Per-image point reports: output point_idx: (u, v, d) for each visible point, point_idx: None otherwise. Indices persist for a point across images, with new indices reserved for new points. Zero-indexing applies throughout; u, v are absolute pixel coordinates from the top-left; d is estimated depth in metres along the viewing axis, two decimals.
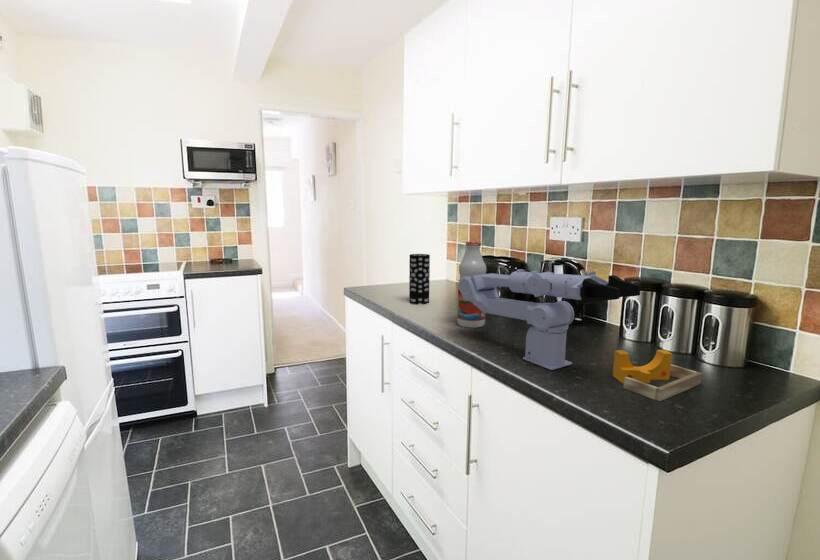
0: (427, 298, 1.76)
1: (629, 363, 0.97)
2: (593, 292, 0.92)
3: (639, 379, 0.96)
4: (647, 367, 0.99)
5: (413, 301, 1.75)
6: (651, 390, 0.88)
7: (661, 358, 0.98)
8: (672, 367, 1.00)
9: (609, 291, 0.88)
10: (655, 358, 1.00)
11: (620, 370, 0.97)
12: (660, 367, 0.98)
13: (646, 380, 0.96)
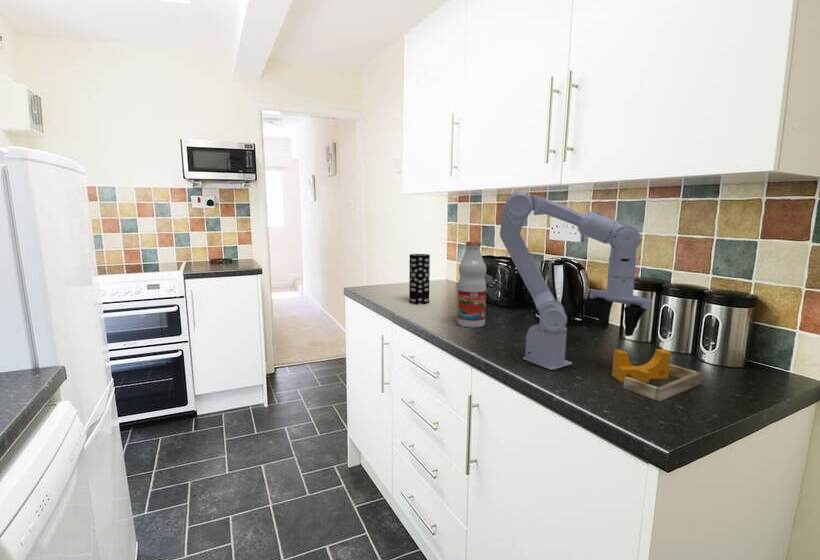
0: (427, 298, 1.76)
1: (628, 362, 0.98)
2: None
3: (638, 378, 0.97)
4: (646, 366, 1.00)
5: (413, 301, 1.75)
6: (651, 390, 0.88)
7: (660, 357, 0.98)
8: (672, 367, 1.00)
9: (632, 328, 1.00)
10: (654, 357, 1.00)
11: (619, 369, 0.98)
12: (659, 367, 0.98)
13: (645, 380, 0.97)
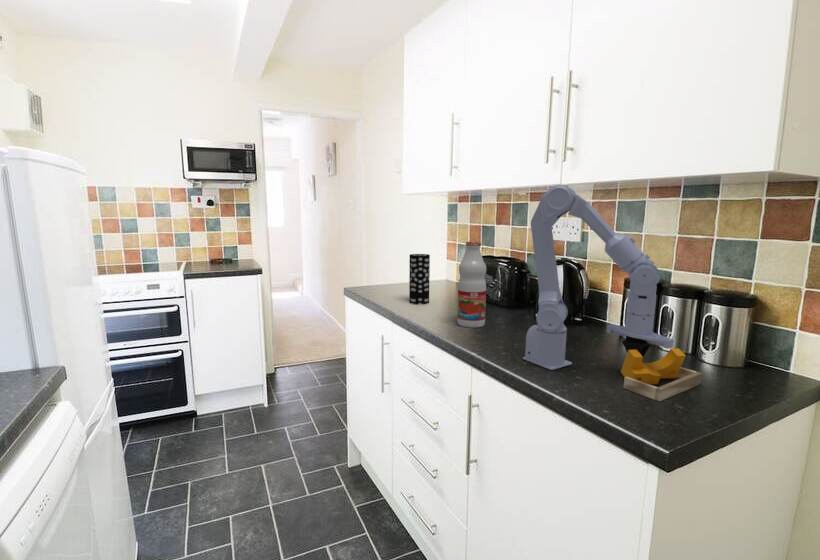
0: (427, 298, 1.76)
1: (641, 364, 0.95)
2: None
3: (648, 380, 0.95)
4: (657, 365, 0.97)
5: (413, 301, 1.75)
6: (651, 390, 0.88)
7: (673, 359, 0.95)
8: None
9: None
10: (667, 356, 0.97)
11: (631, 371, 0.95)
12: (670, 367, 0.96)
13: (655, 381, 0.95)
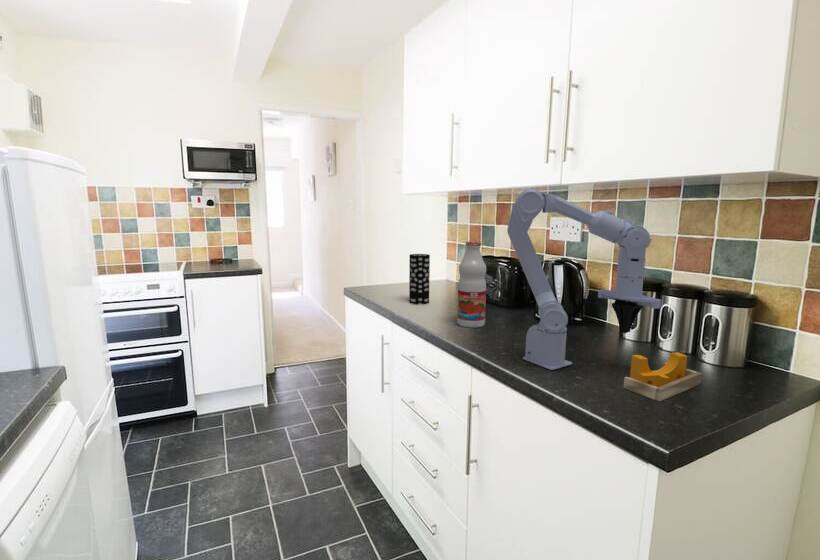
0: (427, 298, 1.76)
1: (648, 368, 0.95)
2: None
3: (659, 384, 0.94)
4: (662, 371, 0.97)
5: (413, 301, 1.75)
6: (651, 390, 0.88)
7: (677, 361, 0.96)
8: None
9: (629, 325, 1.03)
10: (670, 361, 0.98)
11: (640, 376, 0.94)
12: (676, 371, 0.96)
13: None
